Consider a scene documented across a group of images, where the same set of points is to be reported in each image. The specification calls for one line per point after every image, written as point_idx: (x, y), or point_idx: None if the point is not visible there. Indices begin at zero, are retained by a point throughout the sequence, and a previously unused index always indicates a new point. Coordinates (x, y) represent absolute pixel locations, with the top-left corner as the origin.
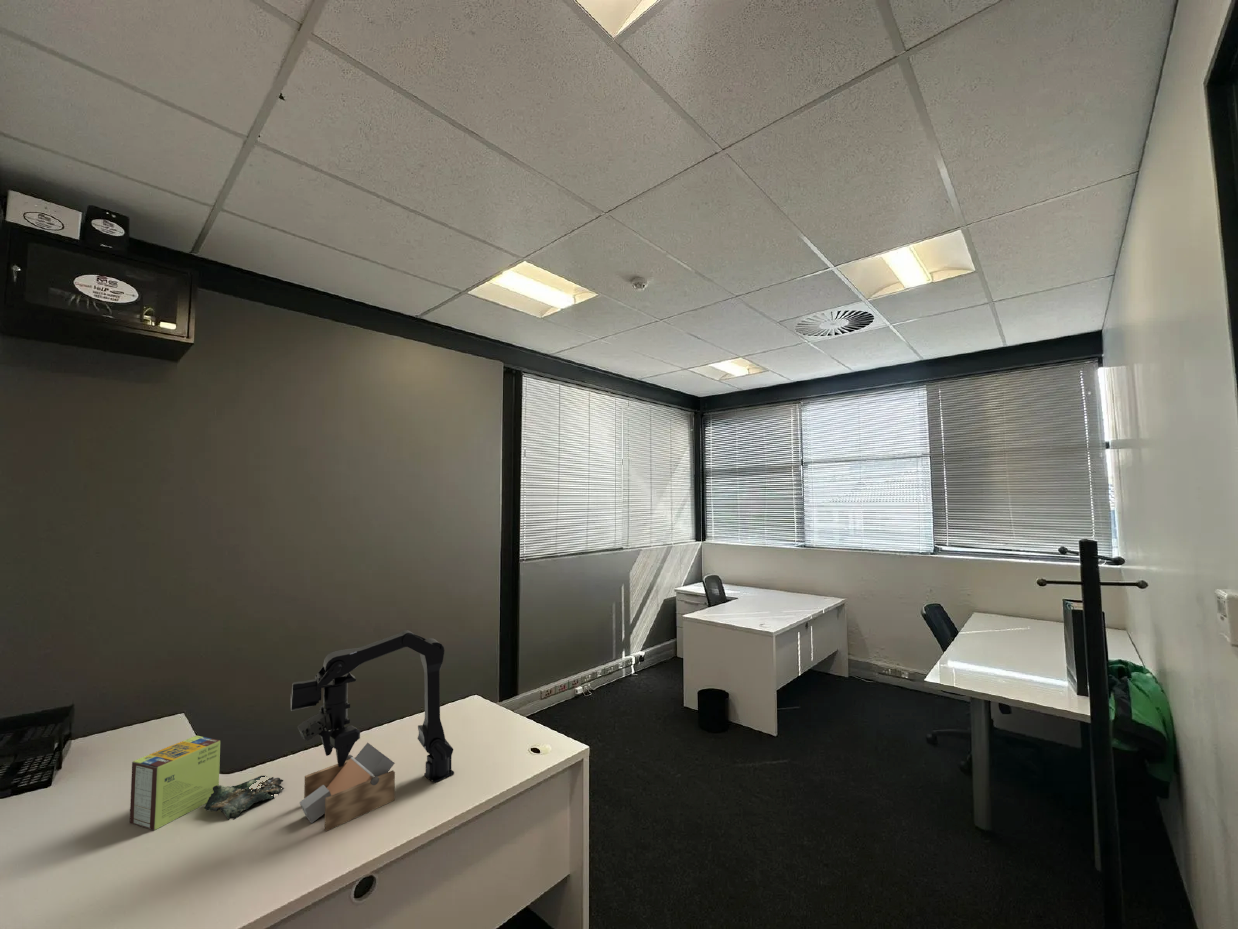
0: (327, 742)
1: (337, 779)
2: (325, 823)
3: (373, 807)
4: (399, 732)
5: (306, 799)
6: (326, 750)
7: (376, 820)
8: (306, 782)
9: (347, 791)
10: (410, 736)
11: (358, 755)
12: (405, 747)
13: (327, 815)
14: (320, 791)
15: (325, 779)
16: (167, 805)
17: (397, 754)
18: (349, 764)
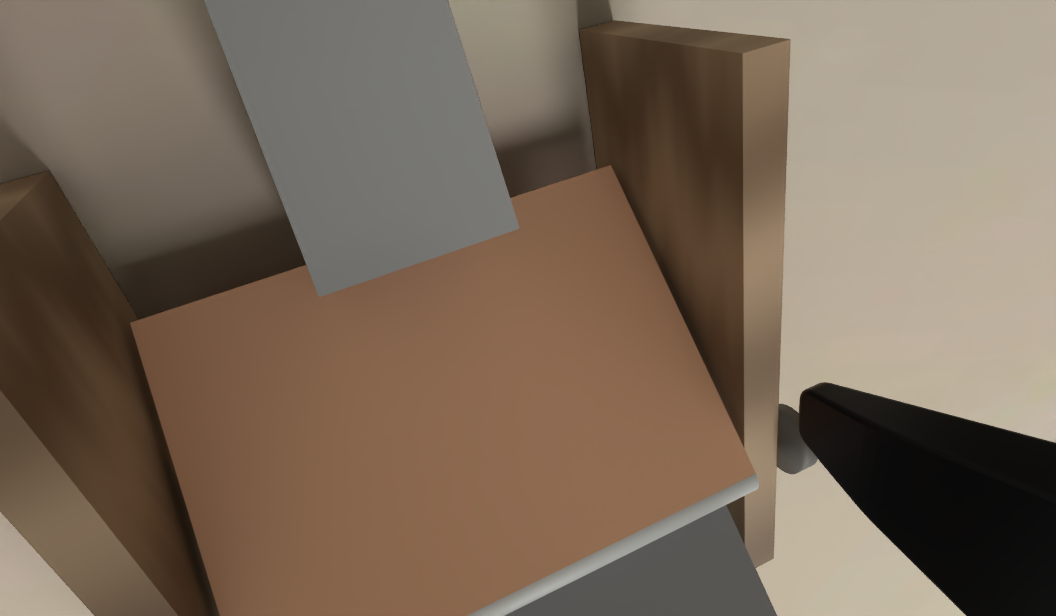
0: (1029, 553)
1: (622, 322)
2: (8, 195)
3: None
4: None
5: (404, 29)
6: (878, 443)
7: (11, 545)
8: (702, 52)
9: (28, 541)
10: (891, 560)
11: (725, 553)
12: (819, 556)
13: None
14: (410, 195)
15: (685, 227)
16: None
17: (786, 533)
18: (685, 459)
